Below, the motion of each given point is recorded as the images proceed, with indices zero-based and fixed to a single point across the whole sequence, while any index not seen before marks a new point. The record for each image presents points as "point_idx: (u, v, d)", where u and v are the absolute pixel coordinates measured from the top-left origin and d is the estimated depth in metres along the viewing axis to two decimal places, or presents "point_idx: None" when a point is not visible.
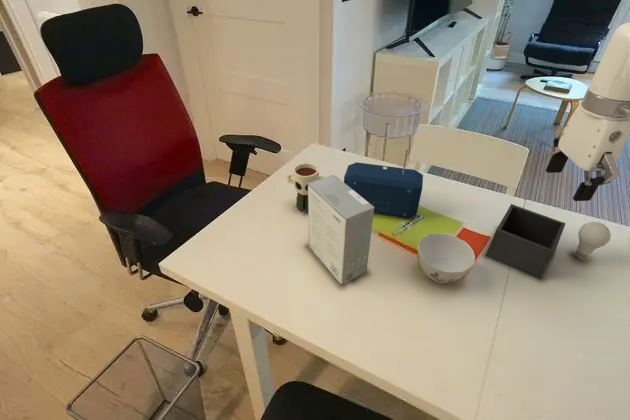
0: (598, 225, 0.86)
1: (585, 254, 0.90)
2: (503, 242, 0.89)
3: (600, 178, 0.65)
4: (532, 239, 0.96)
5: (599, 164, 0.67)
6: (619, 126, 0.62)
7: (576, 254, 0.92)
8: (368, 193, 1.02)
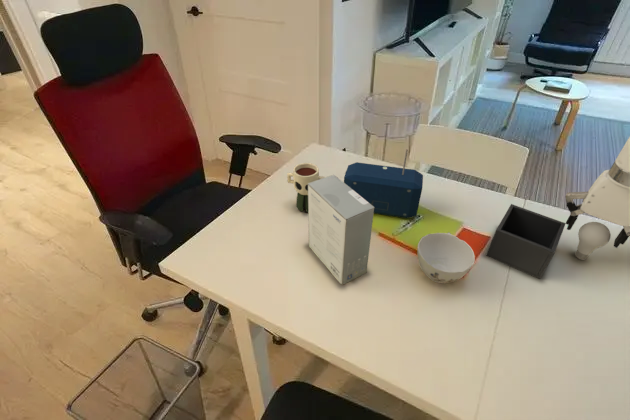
0: (598, 225, 0.86)
1: (585, 254, 0.90)
2: (503, 242, 0.89)
3: None
4: (532, 239, 0.96)
5: None
6: None
7: (576, 254, 0.92)
8: (368, 193, 1.02)
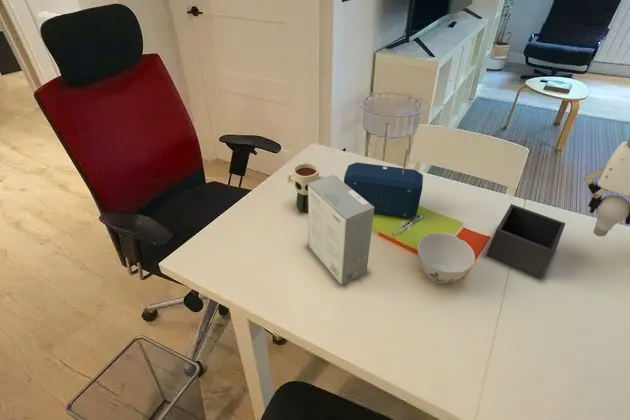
0: (617, 197, 0.81)
1: (604, 230, 0.85)
2: (503, 242, 0.89)
3: None
4: (532, 239, 0.96)
5: None
6: None
7: (595, 231, 0.87)
8: (368, 193, 1.02)
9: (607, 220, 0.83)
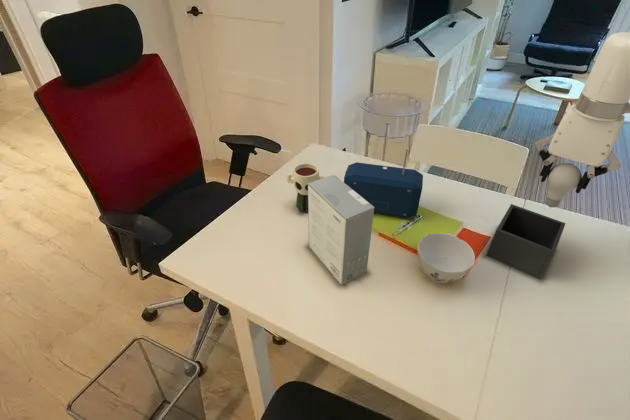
0: (568, 165, 0.78)
1: (556, 200, 0.82)
2: (503, 242, 0.89)
3: (604, 169, 0.74)
4: (532, 239, 0.96)
5: None
6: (622, 122, 0.69)
7: (546, 201, 0.84)
8: (368, 193, 1.02)
9: (557, 189, 0.79)
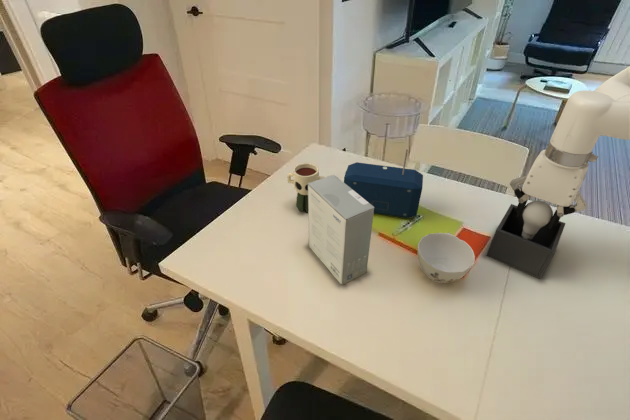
0: (540, 203, 0.85)
1: (530, 234, 0.89)
2: (503, 242, 0.89)
3: (572, 209, 0.80)
4: (532, 239, 0.96)
5: None
6: (586, 169, 0.75)
7: (522, 234, 0.91)
8: (368, 193, 1.02)
9: (531, 224, 0.86)
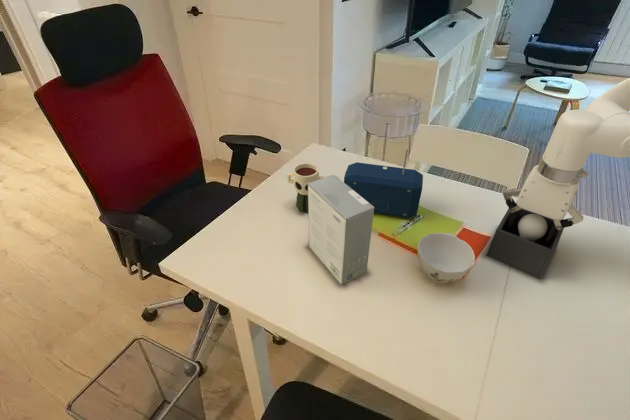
0: (535, 217, 0.87)
1: None
2: (503, 242, 0.89)
3: (570, 223, 0.82)
4: None
5: None
6: (578, 184, 0.78)
7: None
8: (368, 193, 1.02)
9: (526, 237, 0.89)
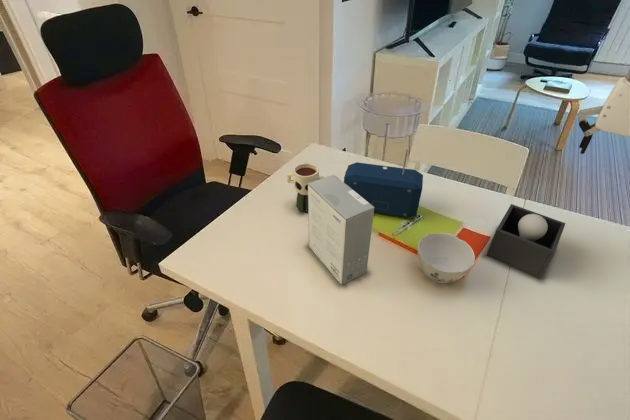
0: (535, 217, 0.87)
1: None
2: (503, 242, 0.89)
3: None
4: None
5: None
6: None
7: None
8: (368, 193, 1.02)
9: (526, 237, 0.89)
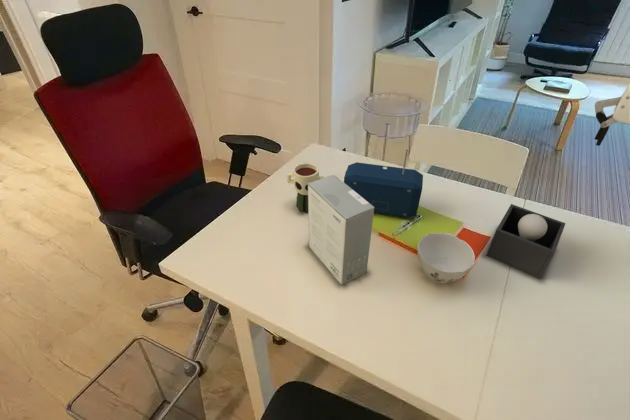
0: (535, 217, 0.87)
1: None
2: (503, 242, 0.89)
3: None
4: None
5: None
6: None
7: None
8: (368, 193, 1.02)
9: (526, 237, 0.89)
